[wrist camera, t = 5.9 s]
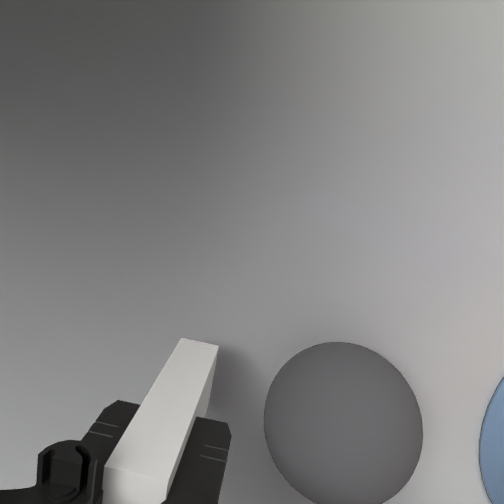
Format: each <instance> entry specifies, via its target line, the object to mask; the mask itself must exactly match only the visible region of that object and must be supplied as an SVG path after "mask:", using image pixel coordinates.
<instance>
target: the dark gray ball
mask: <svg viewBox="0 0 504 504" xmlns="http://www.w3.org/2000/svg"><path fill="white" fill-rule="evenodd" d="M264 430H265V437H266V441H267V445H268V448H269V451H270V454H271V456H272V458H273V461H274V462H275V464H276V466H277V468H278V469H279V471H280V472H281V474H282V475H283V476H284V478H285V479H286V480H287V481H288V482H289V484H290V485H291V486H292V487H294V488H295V489H296V490H297V491H298V492H299V493H301V494H302V495H303V496H305V497H306V498H308V499H310V500H311V501H313V502H315V503H317V504H382V503H383V502H385V501H387V500H389V499H390V498H392V497H393V496H394V495H396V494H397V493H398V492H399V491H400V490H401V489H402V488H403V487H404V486H405V484H406V483H407V482H408V481H409V479H410V477H411V476H412V474H413V472H414V470H415V468H416V465H417V463H418V461H419V457H420V453H421V449H422V441H423V428H422V418H421V414H420V409H419V406H418V403H417V400H416V398H415V395H414V393H413V391H412V390H411V388H410V386H409V384H408V383H407V381H406V380H405V378H404V377H403V376H402V374H401V373H400V372H399V371H398V370H397V369H396V368H395V367H394V366H393V365H392V364H391V363H390V362H388V361H387V360H386V359H385V358H383V357H382V356H380V355H379V354H377V353H376V352H373V351H371V350H369V349H367V348H364V347H362V346H359V345H355V344H350V343H342V342H330V343H323V344H319V345H315V346H312V347H310V348H308V349H305V350H303V351H301V352H300V353H298V354H296V355H295V356H294V357H293V358H291V359H290V360H289V361H288V362H287V363H286V364H285V365H284V366H283V367H282V368H281V369H280V371H279V372H278V374H277V375H276V377H275V379H274V380H273V382H272V384H271V386H270V389H269V392H268V395H267V398H266V402H265V410H264Z"/></svg>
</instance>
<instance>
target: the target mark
mask: <svg viewBox="0 0 504 504" xmlns="http://www.w3.org/2000/svg"><path fill="white" fill-rule="evenodd" d="M479 461H480V468H481V474H482V479H483V482H484V485H485V488H486V491H487V494H488V496H489V498H490V500H491V502H492V504H504V378H503V379H502V381H501V382H500V383H499V385H498V387H497V389H496V391H495V393H494V395H493V397H492V399H491V401H490V403H489V405H488V408H487V411H486V414H485V417H484V420H483V423H482V429H481V435H480V441H479Z"/></svg>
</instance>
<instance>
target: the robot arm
mask: <svg viewBox="0 0 504 504" xmlns="http://www.w3.org/2000/svg"><path fill="white" fill-rule="evenodd" d="M218 349H219V346H218V345H213V344H208V343H204V342H199V341H194V340H190V339H185V338H181V339H180V340H179V342H178V344H177V345H176V347H175V349H174V350H173V352H172V354H171V355H170V357H169V359H168V360H167V362H166V364H165V365H164V367H163V369H162V370H161V372H160V374H159V375H158V377H157V379H156V380H155V382H154V384H153V385H152V387H151V389H150V390H149V392H148V394H147V395H146V397H145V399H144V400H143V402H142V404H141V405H138V404H134V403H129V402H125V401H120V400H117V401H116V402H114V403H113V404H111V405H109V406H108V407H106V408H105V409H104V410H103V411H102V413H101V414H100V415H99V417H98V418H97V420H96V422H95V423H94V424H93V425H92V426H91V428H90V429H89V431H88V433H86V435H85V436H84V437H83V439H82V440H81V441H76V440H67V441H61V442H57V443H55V444H53V445H50V446H48V447H46V448H45V449H44V450H43V451H42V452H40V453H39V454H38V464H37V482H36V485H35V486H33V487H30V488H23V489H12V490H0V504H218V500H219V495H220V490H221V485H222V481H223V476H224V471H225V466H226V461H227V456H228V451H229V446H230V441H231V433H230V430H229V427H228V424H227V423H224V422H219V421H215V420H211V419H206V418H205V415H206V412H207V409H208V406H209V400H210V394H211V389H212V383H213V377H214V372H215V366H216V361H217V355H218Z"/></svg>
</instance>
